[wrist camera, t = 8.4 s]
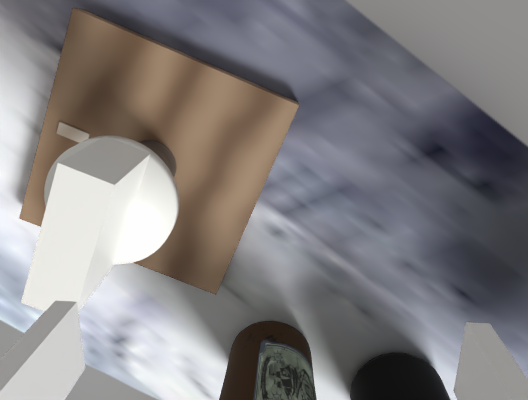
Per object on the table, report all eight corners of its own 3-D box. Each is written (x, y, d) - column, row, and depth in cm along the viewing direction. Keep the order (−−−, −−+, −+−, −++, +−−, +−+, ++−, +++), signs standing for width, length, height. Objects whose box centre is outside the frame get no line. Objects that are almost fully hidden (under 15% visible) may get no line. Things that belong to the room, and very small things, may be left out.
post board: (298, 102, 46) (301, 124, 35) (218, 285, 53) (200, 351, 42) (81, 8, 44) (12, 0, 33) (29, 211, 51) (-43, 260, 40)
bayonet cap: (70, 114, 35) (1, 140, 27) (196, 165, 36) (168, 206, 27) (36, 245, 39) (-34, 304, 30) (151, 288, 40) (113, 357, 31)
